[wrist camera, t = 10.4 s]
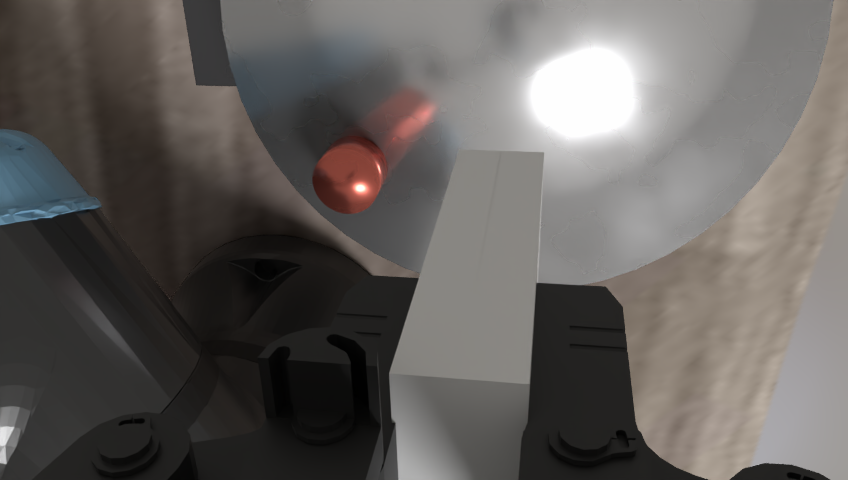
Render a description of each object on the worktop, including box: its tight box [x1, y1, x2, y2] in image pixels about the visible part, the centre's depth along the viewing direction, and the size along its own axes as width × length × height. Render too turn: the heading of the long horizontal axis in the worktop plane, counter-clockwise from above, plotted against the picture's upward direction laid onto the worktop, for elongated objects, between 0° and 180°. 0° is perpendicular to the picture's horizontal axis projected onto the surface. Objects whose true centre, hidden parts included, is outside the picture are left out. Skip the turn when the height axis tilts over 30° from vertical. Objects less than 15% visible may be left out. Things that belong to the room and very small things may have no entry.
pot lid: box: [220, 0, 833, 285], centre depth 27 cm, size 20×20×3 cm
